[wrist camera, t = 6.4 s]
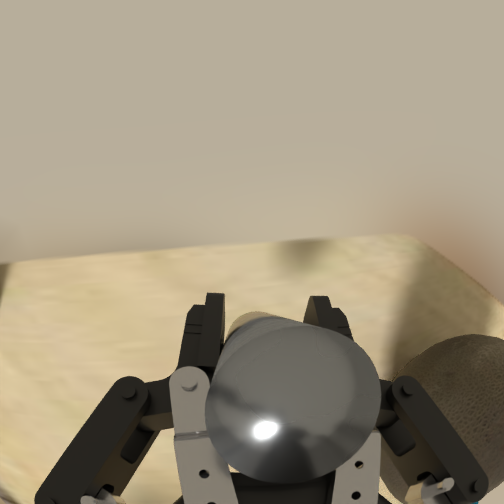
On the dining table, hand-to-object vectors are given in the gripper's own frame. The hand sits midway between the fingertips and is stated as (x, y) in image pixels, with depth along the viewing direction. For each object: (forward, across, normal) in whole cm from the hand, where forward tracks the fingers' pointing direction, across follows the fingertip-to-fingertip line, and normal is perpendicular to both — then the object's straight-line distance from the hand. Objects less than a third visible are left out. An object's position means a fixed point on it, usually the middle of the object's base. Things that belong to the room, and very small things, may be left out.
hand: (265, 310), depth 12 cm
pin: (+2, 0, +5) cm, 5 cm away
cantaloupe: (+1, -15, +15) cm, 21 cm away
